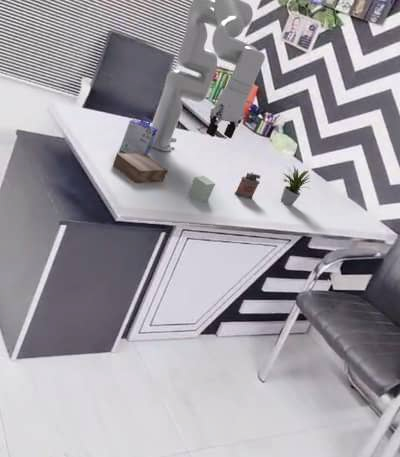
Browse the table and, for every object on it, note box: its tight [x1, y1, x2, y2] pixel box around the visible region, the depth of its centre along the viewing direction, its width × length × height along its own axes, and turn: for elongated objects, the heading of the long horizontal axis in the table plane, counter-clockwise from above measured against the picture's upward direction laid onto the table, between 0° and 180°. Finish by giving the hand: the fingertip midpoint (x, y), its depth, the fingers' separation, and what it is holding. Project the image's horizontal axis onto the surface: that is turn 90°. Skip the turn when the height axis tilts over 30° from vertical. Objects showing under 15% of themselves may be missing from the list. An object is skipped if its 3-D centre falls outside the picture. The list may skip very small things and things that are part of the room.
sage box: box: [187, 175, 216, 203], centre depth 183 cm, size 6×6×7 cm
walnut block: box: [112, 153, 169, 184], centre depth 181 cm, size 14×12×5 cm
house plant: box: [280, 165, 312, 207], centre depth 217 cm, size 14×14×16 cm
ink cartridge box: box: [119, 116, 157, 156], centre depth 194 cm, size 10×6×14 cm, turn 78°
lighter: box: [234, 172, 261, 200], centre depth 203 cm, size 8×3×10 cm, turn 117°
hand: (218, 135), depth 174 cm, fingers open, 9 cm apart
